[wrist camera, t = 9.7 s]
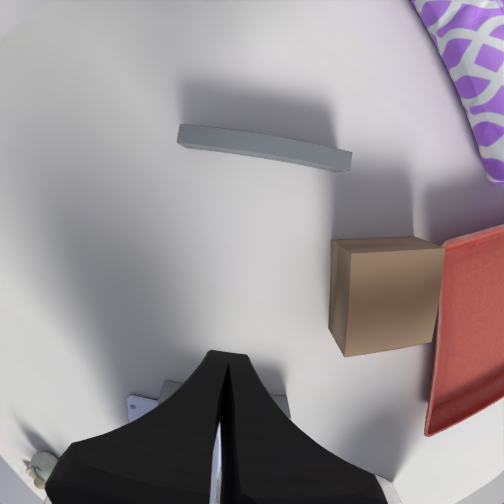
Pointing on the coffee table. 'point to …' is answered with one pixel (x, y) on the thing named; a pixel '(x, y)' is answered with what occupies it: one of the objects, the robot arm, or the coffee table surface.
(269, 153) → the lane
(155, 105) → the coffee table surface
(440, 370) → the plant saucer
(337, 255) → the walnut block
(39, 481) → the toy dog
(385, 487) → the jar
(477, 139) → the pencil case
